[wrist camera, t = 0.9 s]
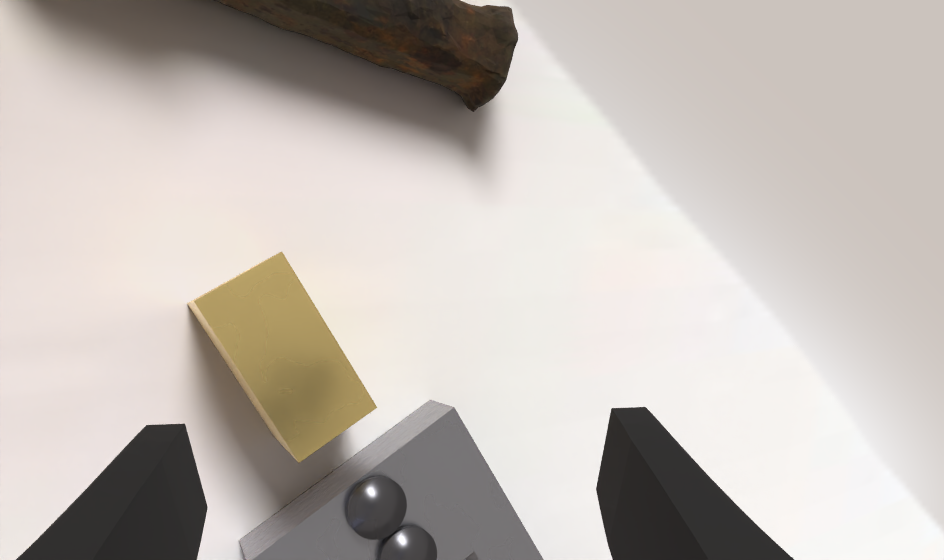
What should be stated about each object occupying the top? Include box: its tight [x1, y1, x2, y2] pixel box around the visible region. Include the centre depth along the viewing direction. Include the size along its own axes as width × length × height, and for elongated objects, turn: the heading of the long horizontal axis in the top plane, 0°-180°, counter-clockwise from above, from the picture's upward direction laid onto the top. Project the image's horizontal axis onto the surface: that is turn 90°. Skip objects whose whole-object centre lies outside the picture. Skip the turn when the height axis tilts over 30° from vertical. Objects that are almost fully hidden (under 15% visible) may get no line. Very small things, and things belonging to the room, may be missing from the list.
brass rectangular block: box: [187, 252, 377, 463], centre depth 23 cm, size 6×3×5 cm, turn 32°
